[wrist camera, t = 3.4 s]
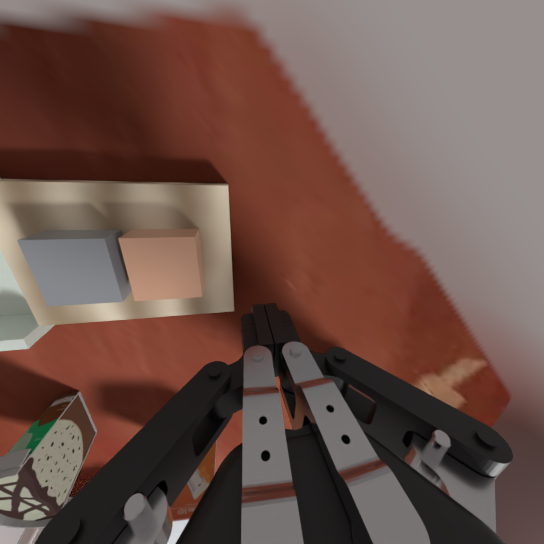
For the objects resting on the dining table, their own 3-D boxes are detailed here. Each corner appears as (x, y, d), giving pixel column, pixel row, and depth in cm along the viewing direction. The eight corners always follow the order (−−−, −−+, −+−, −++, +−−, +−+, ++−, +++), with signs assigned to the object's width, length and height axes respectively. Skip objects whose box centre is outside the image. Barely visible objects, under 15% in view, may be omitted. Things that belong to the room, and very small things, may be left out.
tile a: (199, 228, 22) (195, 236, 19) (204, 282, 24) (201, 296, 22) (132, 229, 21) (118, 238, 18) (145, 285, 23) (134, 301, 21)
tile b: (120, 229, 21) (104, 238, 18) (135, 286, 23) (123, 301, 20) (45, 230, 20) (16, 240, 17) (69, 289, 22) (47, 306, 19)
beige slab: (228, 183, 23) (228, 185, 21) (233, 298, 29) (234, 311, 26) (1, 178, 20) (-35, 180, 17) (58, 309, 26) (39, 325, 23)
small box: (218, 409, 38) (213, 516, 26) (213, 432, 40) (207, 541, 28) (166, 410, 36) (136, 527, 24) (165, 435, 38) (137, 552, 26)
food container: (23, 388, 29) (-67, 484, 20) (76, 383, 30) (13, 472, 22) (55, 443, 34) (-6, 539, 25) (99, 437, 36) (56, 527, 27)
